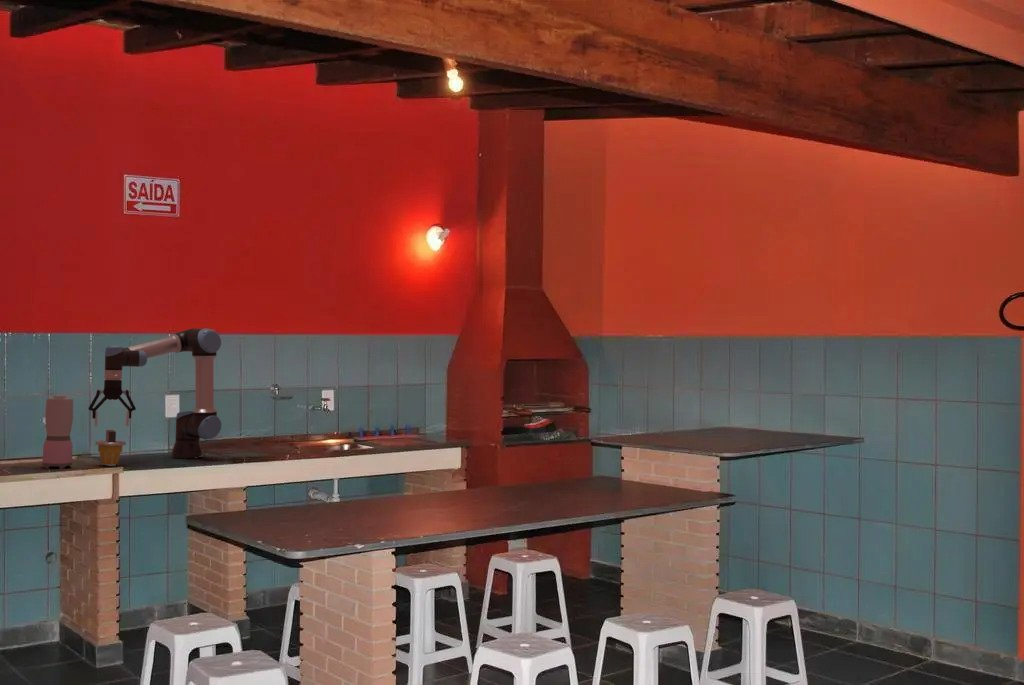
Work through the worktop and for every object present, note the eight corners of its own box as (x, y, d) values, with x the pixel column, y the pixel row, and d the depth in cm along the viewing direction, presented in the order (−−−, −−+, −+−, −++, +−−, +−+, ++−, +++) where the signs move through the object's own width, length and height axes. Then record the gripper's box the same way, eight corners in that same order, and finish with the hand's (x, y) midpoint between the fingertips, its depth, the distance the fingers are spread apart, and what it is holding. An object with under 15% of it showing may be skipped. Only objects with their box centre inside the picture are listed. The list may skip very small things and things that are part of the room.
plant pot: (125, 465, 499) (126, 444, 499) (115, 467, 488) (116, 445, 488) (104, 464, 500) (104, 442, 500) (93, 466, 489) (94, 444, 489)
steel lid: (123, 443, 503) (124, 429, 503) (127, 445, 491) (127, 432, 491) (93, 443, 497) (94, 429, 497) (96, 445, 485) (97, 432, 485)
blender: (68, 469, 475) (71, 396, 475) (38, 468, 473) (41, 395, 473) (76, 465, 490) (79, 395, 491) (48, 464, 488) (51, 394, 489)
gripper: (84, 379, 486) (83, 426, 485) (142, 380, 497) (141, 426, 497) (83, 378, 492) (81, 425, 492) (140, 379, 503) (139, 424, 503)
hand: (111, 425), depth 494 cm, fingers open, 13 cm apart
